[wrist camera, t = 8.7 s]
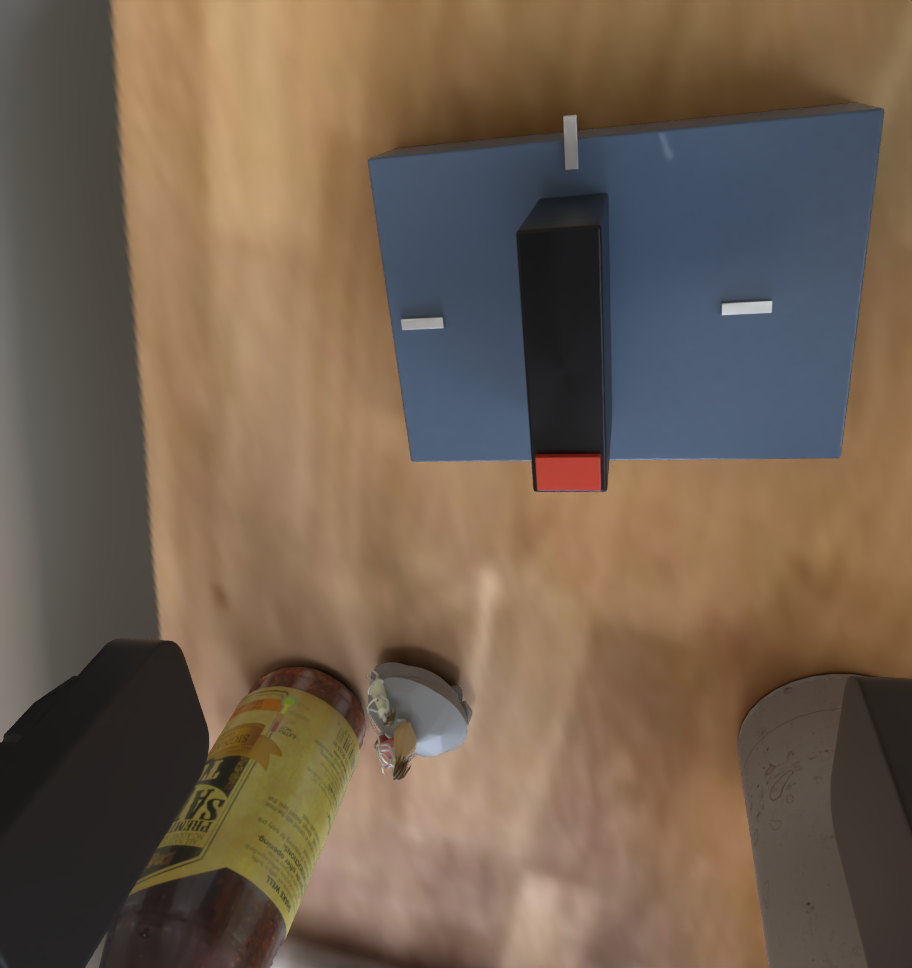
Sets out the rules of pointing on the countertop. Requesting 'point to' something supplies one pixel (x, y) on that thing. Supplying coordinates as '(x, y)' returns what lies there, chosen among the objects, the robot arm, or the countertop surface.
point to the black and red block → (567, 341)
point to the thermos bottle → (798, 825)
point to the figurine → (414, 715)
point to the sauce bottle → (245, 831)
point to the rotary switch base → (641, 280)
